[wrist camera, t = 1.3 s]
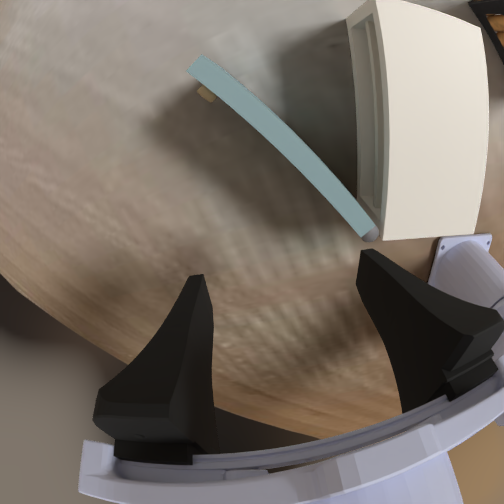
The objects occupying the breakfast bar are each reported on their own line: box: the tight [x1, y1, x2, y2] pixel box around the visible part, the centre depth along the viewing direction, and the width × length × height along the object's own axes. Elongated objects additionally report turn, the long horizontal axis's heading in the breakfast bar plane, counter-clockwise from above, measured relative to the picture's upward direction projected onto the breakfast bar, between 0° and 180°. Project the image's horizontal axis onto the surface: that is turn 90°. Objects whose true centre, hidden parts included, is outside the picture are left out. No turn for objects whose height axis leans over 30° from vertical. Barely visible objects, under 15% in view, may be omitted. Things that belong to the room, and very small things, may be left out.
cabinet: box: [346, 0, 489, 241], centre depth 14 cm, size 15×8×6 cm, turn 7°
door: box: [186, 54, 379, 242], centre depth 16 cm, size 14×2×6 cm, turn 47°
